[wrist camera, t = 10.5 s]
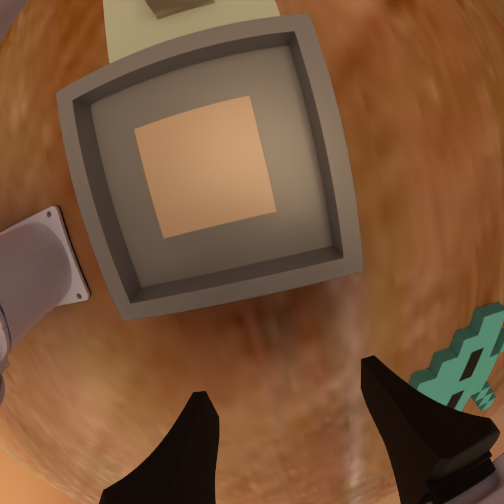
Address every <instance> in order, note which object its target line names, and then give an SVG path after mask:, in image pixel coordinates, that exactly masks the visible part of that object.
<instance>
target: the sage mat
mask: <svg viewBox="0 0 504 504" xmlns="http://www.w3.org/2000/svg"><path fill="white" fill-rule="evenodd" d="M214 1H215V3H214V4H209V5H205V6H201V7H198V8H194V9H190V10H187V11H183V12H180V13H177V14H174V15H171V16H168V17H165V18H162V19H159V20H158V19H157V17H156V16H155V14H154V13H153V12H152V10H151V9H150V7H149V6H148V5H147V3H146V2H145V0H103V5H104V19H105V30H106V39H107V48H108V56H109V63H112V62H114V61H117V60H119V59H121V58H123V57H126V56H128V55H130V54H133V53H135V52H138V51H140V50H143V49H145V48H148V47H151V46H153V45H156V44H159V43H162V42H165V41H168V40H171V39H174V38H177V37H180V36H184V35H187V34H190V33H194V32H198V31H201V30H205V29H209V28H213V27H218V26H222V25H227V24H231V23H237V22H242V21H248V20H254V19H260V18H267V17H275V16H280V13H279V11H278V8H277V5H276V2H275V0H214Z"/></svg>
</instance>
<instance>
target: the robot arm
mask: <svg viewBox="0 0 504 504" xmlns="http://www.w3.org/2000/svg"><path fill="white" fill-rule="evenodd" d="M49 212H50V213H51V216H50V214H49ZM79 294H80V295H81V296H80V295H79ZM89 297H90V292H89V290H88V288H87V285H86V283H85V280H84V278H83V276H82V273H81V271H80V268H79V265H78V263H77V260H76V258H75V255H74V252H73V249H72V247H71V244H70V241H69V238H68V235H67V232H66V229H65V226H64V222H63V219H62V216H61V213H60V209H59V207H58V206H56V205H55V206H51V207H49V208H47V209H45V210H43V211H41V212H39V213H37V214H35V215H33V216H31V217H29V218H27V219H25V220H23V221H21V222H19V223H17V224H15V225H14V226H12V227H10V228H8V229H6V230H4V231H3V232H1V233H0V406H1V404H2V401H3V398H4V394H5V384H4V379H3V376H2V373H3V372H4V371H5V370H6V369H7V368H8V366H9V365H10V364H9V361H8V353H10V352H11V350H12V349H13V348H14V347H15V346H16V345H17V344H18V343H19V342H20V341H21V340H22V339H23V338H24V337H25V336H26V335H27V334H28V333H29V332H30V331H31V330H32V329H33V328H34V327H35V326H36V325H37V324H38V323H39V322H40V321H41V320H42V319H43V318H44V317H45V316H46V315H47V314H48V313H49V312H50V311H51V310H52V309H53V308H54V307H55V306H61V305H66V304H71V303H76V302H81V301H86V300H88V299H89ZM361 390H362V393H363V396H364V399H365V402H366V405H367V407H368V409H369V412H370V414H371V416H372V418H373V420H374V422H375V424H376V426H377V428H378V430H379V432H380V434H381V437H382V439H383V441H384V443H385V446H386V449H387V452H388V455H389V458H390V461H391V465H392V468H393V472H394V475H395V479H396V483H397V487H398V492H399V496H400V502H401V504H504V453H503V454H502V455H500V456H499V457H498V458H496V459H495V460H494V461H493V462H492V461H491V460H490V457H491V456H492V454H491V453H490V451H489V450H490V449H491V447H492V446H493V445H494V443H495V442H496V441H497V439H498V437H499V435H500V431H499V430H498V428H497V427H496V425H495V424H494V423H493V421H492V420H491V419H490V418H486V417H480V416H475V415H471V414H468V413H464V412H461V411H458V410H456V409H453V408H450V407H448V406H445V405H443V404H441V403H439V402H437V401H435V400H433V399H431V398H429V397H428V396H426V395H424V394H423V393H421V392H419V391H418V390H416V389H415V388H413V387H412V386H410V385H409V384H408V383H406V382H405V381H404V380H402V379H401V378H400V377H399V376H397V375H396V374H395V373H394V372H392V371H391V370H390V369H389V368H388V367H387V366H385V365H384V364H383V363H382V362H381V361H380V360H379V359H378V358H377V357H375V356H374V355H373V356H370V357H367V358H363V359H361ZM218 444H219V416H218V414H217V412H216V410H215V408H214V406H213V404H212V402H211V400H210V399H209V397H208V395H207V393H206V391H202V392H193V394H192V395H191V397H190V399H189V400H188V402H187V404H186V406H185V407H184V409H183V411H182V412H181V414H180V416H179V417H178V419H177V420H176V422H175V423H174V425H173V427H172V428H171V429H170V431H169V432H168V434H167V435H166V436H165V438H164V439H163V440H162V442H161V443H160V444H159V445H158V447H157V448H156V449H155V450H154V451H153V452H152V453H151V454H150V456H149V457H148V458H146V459H145V460H144V461H143V462H142V463H141V464H140V465H139V466H138V467H137V468H136V469H134V470H133V471H132V472H131V473H129V474H128V475H127V476H125V477H124V478H123V479H121V480H120V481H118V482H116V483H115V484H113V485H111V486H110V487H108V488H106V489H104V490H103V492H102V495H101V499H100V502H99V504H216V502H215V470H216V462H217V453H218Z"/></svg>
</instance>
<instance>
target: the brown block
mask: <svg viewBox="0 0 504 504" xmlns="http://www.w3.org/2000/svg"><path fill="white" fill-rule="evenodd" d="M145 2H146V3H147V5H148V6H149V7H150V9H151V10H152V12H153V13H154V14H155V16H156V17H157V19H158V20H159V19H162V18H165V17H168V16H171V15H174V14H177V13H180V12H183V11H187V10H190V9H194V8H198V7H201V6H205V5H209V4H214V3H215V1H214V0H145Z"/></svg>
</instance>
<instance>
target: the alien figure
mask: <svg viewBox="0 0 504 504" xmlns="http://www.w3.org/2000/svg"><path fill="white" fill-rule="evenodd" d="M503 321H504V306H503V305H502V304H500V303H499V302H497V303H493V304H490V305H487V306H483V307H480V308H476V309H475V311H474V314H473V317H472V320H471V324H470V327H467V328H464V329H461V330H457V331H455V335H454V338H453V341H452V343H451V346H450V348H448V349H445V350H442V351H438V352H435V353H434V356H433V359H432V362H431V365H430V367H429V368H428V369H425V370H422V371H418V372H415V373H413V374H412V377H411V379H410V382H409V385H410V386H412V387H413V388H415V389H416V390H418V391H419V392H421V393H423V394H424V395H426V396H428V397H429V398H431V399H433V400H435V401H437V402H439V403H441V404H443V405H445V406H448V407H450V408H453V409H456V410H458V411H462V409H463V408H464V406H465V404H466V402H467V401H468V399H469V397H470V396H471V398H472V399H473V401H474V402H475V403H476V404H477V406H478V407H479V408H480V410H481V411H483V410H485V409H487V408H489V407H490V406H491V405H492V403H493V401H494V400H495V398H496V397H495V395H494V394H493V391H492V390H491V388H490V385H489V384H488V383H487V381H486V380H487V378H488V376H489V374H490V372H491V370H492V368H493V366H494V364H495V362H496V359H497V357H498V355H499V353H500V352H502V351H504V329H501V327H502V324H503Z"/></svg>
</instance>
